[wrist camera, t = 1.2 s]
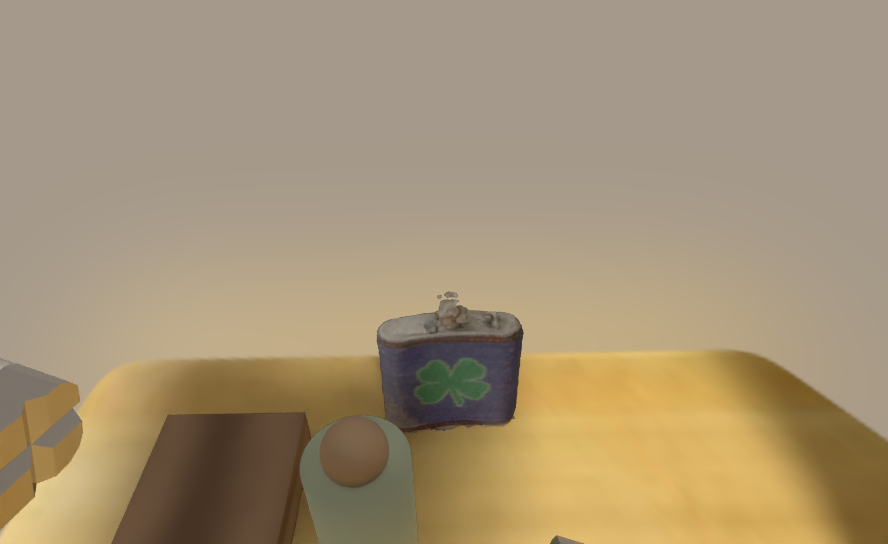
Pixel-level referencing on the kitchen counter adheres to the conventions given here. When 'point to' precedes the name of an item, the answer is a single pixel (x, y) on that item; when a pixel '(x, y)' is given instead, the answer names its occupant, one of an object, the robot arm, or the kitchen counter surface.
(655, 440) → the kitchen counter surface
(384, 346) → the flask
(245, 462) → the plinth
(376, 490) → the pepper mill
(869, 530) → the kitchen counter surface
